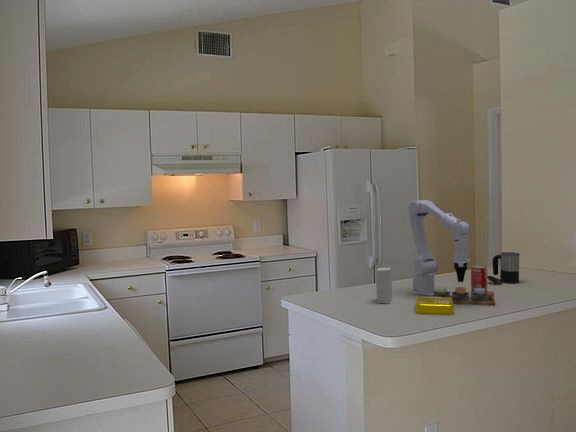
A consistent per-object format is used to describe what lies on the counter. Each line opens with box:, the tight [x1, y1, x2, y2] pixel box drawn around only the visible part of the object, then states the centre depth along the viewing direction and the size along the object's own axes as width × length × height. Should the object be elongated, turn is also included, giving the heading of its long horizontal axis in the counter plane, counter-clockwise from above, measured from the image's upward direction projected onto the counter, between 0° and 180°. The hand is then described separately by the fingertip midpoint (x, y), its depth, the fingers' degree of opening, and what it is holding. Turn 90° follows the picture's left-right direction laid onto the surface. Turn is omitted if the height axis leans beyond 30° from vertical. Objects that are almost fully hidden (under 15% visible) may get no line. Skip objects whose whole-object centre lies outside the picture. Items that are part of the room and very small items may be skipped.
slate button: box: [474, 288, 485, 296], centre depth 245 cm, size 4×4×3 cm
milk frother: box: [487, 251, 521, 285], centre depth 285 cm, size 14×16×15 cm
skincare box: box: [375, 267, 393, 305], centre depth 251 cm, size 8×6×15 cm
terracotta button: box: [454, 286, 467, 295], centre depth 248 cm, size 4×4×3 cm
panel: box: [427, 290, 496, 307], centre depth 248 cm, size 28×10×5 cm, turn 74°
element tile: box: [415, 295, 455, 316], centre depth 235 cm, size 15×15×5 cm
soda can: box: [470, 265, 488, 293], centre depth 261 cm, size 7×7×13 cm
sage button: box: [435, 285, 448, 294], centre depth 250 cm, size 4×4×3 cm
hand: (460, 280), depth 247 cm, fingers open, 6 cm apart
